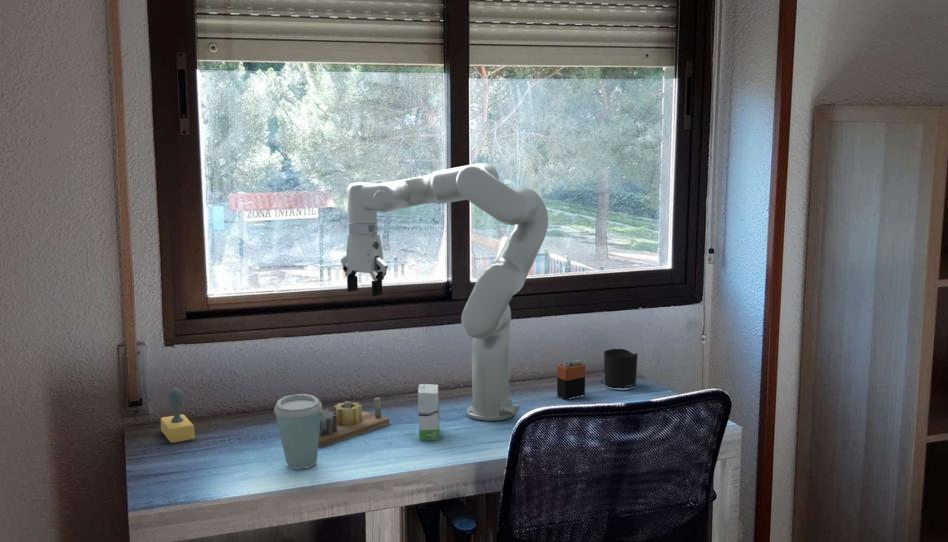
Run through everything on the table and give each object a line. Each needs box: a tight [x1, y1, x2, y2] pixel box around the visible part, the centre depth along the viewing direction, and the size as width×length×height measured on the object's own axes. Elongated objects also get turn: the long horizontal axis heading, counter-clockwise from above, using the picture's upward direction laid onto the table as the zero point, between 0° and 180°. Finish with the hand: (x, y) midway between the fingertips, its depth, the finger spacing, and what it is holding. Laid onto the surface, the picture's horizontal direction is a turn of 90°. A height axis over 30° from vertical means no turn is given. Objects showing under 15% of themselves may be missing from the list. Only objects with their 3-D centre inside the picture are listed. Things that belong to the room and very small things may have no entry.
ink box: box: [417, 383, 440, 441], centre depth 229 cm, size 9×5×12 cm, turn 2°
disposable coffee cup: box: [273, 393, 323, 470], centre depth 209 cm, size 11×11×15 cm
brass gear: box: [333, 401, 363, 426], centre depth 235 cm, size 7×7×4 cm
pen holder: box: [603, 348, 638, 389], centre depth 268 cm, size 9×9×10 cm
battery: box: [556, 359, 586, 400], centre depth 259 cm, size 4×7×10 cm, turn 123°
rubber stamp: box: [160, 387, 195, 444], centre depth 230 cm, size 10×6×12 cm, turn 30°
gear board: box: [318, 397, 390, 448], centre depth 233 cm, size 13×22×7 cm, turn 139°
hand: (364, 293), depth 251 cm, fingers open, 9 cm apart
